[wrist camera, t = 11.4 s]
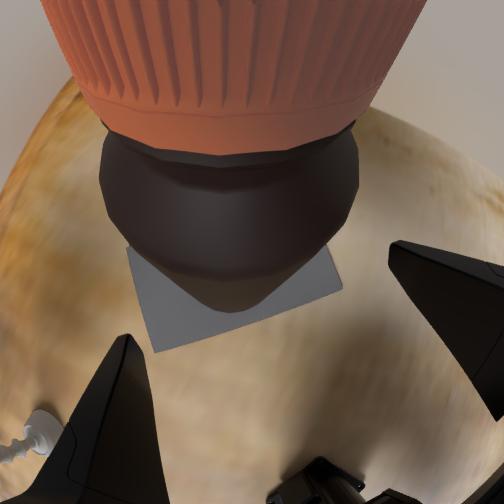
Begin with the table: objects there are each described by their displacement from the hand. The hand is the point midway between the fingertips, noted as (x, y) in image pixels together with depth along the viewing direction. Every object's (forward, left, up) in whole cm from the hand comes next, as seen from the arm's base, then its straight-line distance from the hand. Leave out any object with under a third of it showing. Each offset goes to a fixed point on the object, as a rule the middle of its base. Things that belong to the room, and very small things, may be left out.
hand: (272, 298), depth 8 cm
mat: (+3, -2, -12) cm, 13 cm away
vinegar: (+3, -2, -12) cm, 13 cm away
